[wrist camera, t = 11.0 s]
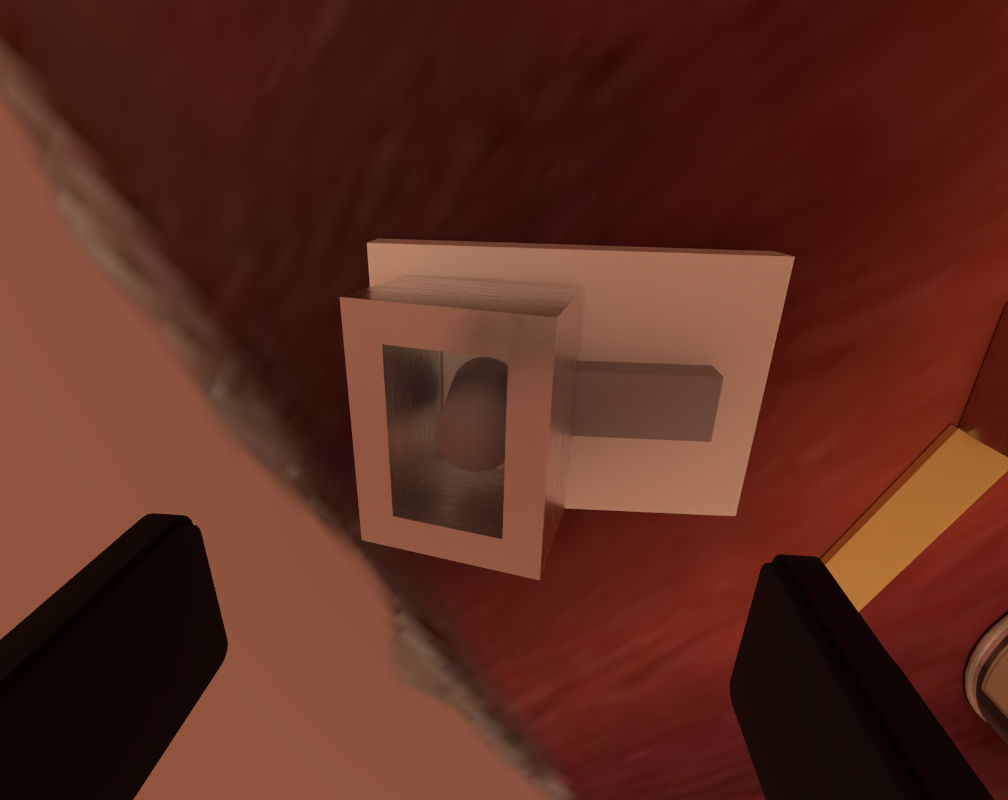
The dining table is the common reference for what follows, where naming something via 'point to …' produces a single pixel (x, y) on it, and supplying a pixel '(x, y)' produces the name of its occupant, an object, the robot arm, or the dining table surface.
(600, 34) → the dining table surface
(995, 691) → the coffee can
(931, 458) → the yellow flat bar
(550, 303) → the link
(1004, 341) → the block
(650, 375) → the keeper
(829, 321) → the dining table surface
